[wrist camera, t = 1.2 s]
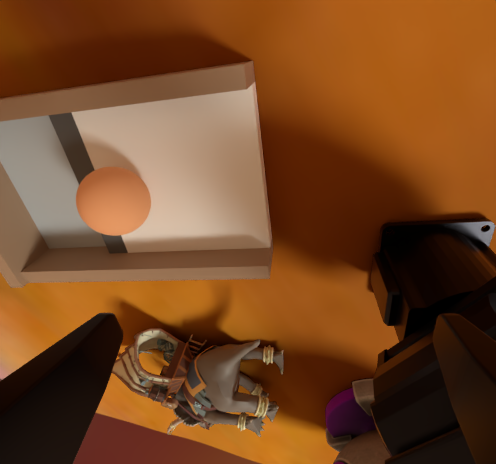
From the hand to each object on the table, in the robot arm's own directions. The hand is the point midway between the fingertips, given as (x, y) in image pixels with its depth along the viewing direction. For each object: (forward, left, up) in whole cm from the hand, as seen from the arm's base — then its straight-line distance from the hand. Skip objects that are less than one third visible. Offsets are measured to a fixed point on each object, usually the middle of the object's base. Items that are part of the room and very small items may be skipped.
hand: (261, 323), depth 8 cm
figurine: (+10, +19, -13) cm, 25 cm away
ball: (+10, 0, -9) cm, 13 cm away
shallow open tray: (+11, 0, -13) cm, 16 cm away
